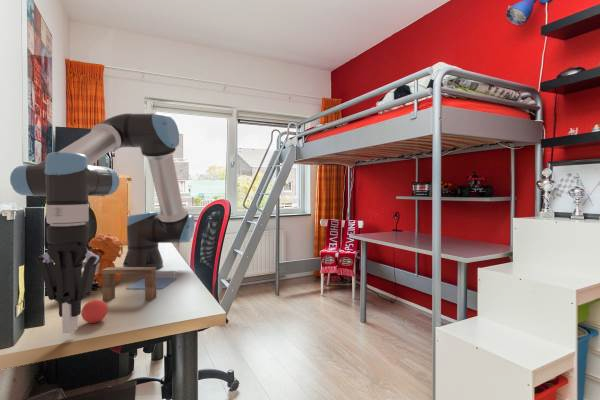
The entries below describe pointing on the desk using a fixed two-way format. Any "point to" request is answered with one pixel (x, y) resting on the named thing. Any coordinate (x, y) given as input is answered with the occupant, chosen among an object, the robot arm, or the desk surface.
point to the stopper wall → (165, 274)
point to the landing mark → (159, 283)
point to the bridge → (110, 272)
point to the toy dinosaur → (106, 254)
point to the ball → (94, 311)
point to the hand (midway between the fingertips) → (70, 330)
